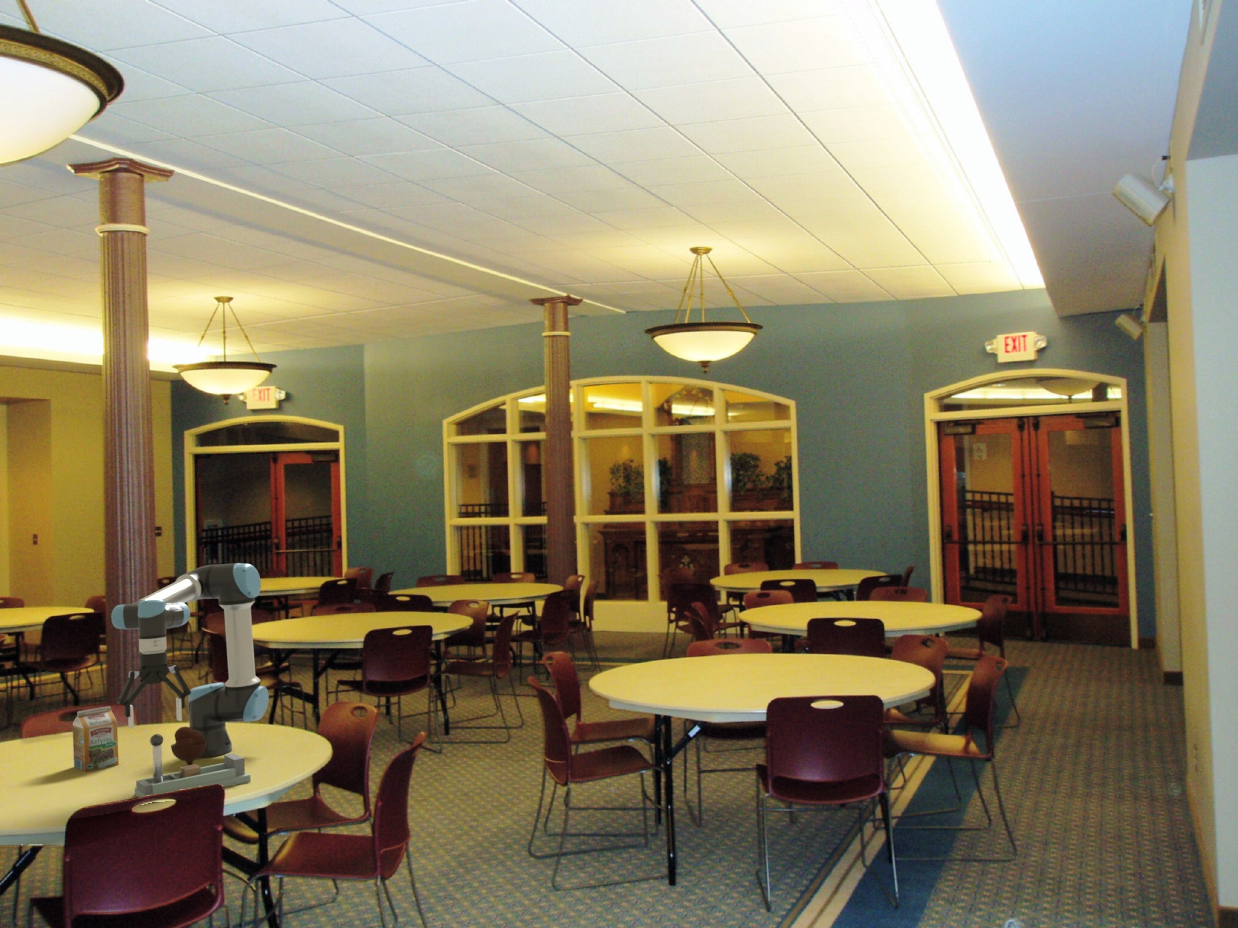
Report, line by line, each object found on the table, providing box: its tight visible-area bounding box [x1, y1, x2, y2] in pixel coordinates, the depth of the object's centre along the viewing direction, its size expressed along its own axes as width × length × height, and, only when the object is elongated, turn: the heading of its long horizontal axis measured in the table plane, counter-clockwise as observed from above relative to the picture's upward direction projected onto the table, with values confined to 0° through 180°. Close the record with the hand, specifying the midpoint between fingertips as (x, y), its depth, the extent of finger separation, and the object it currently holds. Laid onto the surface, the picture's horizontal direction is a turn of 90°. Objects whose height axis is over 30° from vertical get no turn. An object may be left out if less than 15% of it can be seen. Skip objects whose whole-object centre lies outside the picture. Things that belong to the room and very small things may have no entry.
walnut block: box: [179, 764, 201, 779], centre depth 326 cm, size 4×4×4 cm
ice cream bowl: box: [170, 726, 207, 766], centre depth 344 cm, size 11×11×15 cm
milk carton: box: [72, 705, 120, 773], centre depth 361 cm, size 11×10×19 cm
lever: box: [148, 733, 179, 784], centre depth 321 cm, size 7×7×16 cm
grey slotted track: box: [134, 753, 251, 798], centre depth 326 cm, size 13×30×7 cm, turn 129°
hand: (155, 723), depth 320 cm, fingers open, 13 cm apart
